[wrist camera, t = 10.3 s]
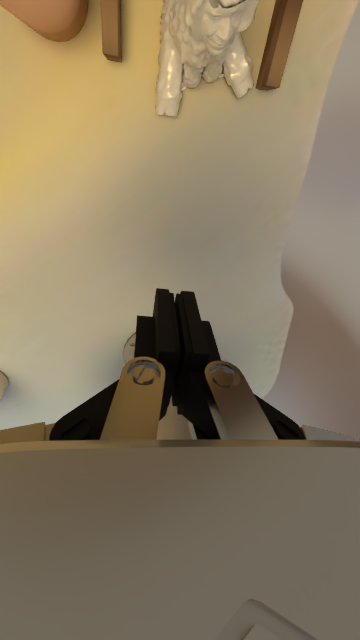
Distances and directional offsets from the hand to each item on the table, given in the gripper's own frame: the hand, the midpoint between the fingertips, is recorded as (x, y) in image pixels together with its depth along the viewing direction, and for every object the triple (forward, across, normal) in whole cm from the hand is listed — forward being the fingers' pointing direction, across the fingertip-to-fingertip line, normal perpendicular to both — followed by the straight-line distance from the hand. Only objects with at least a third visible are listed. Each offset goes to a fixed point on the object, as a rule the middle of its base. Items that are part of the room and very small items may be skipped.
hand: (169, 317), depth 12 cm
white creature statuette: (+24, -2, -13) cm, 27 cm away
